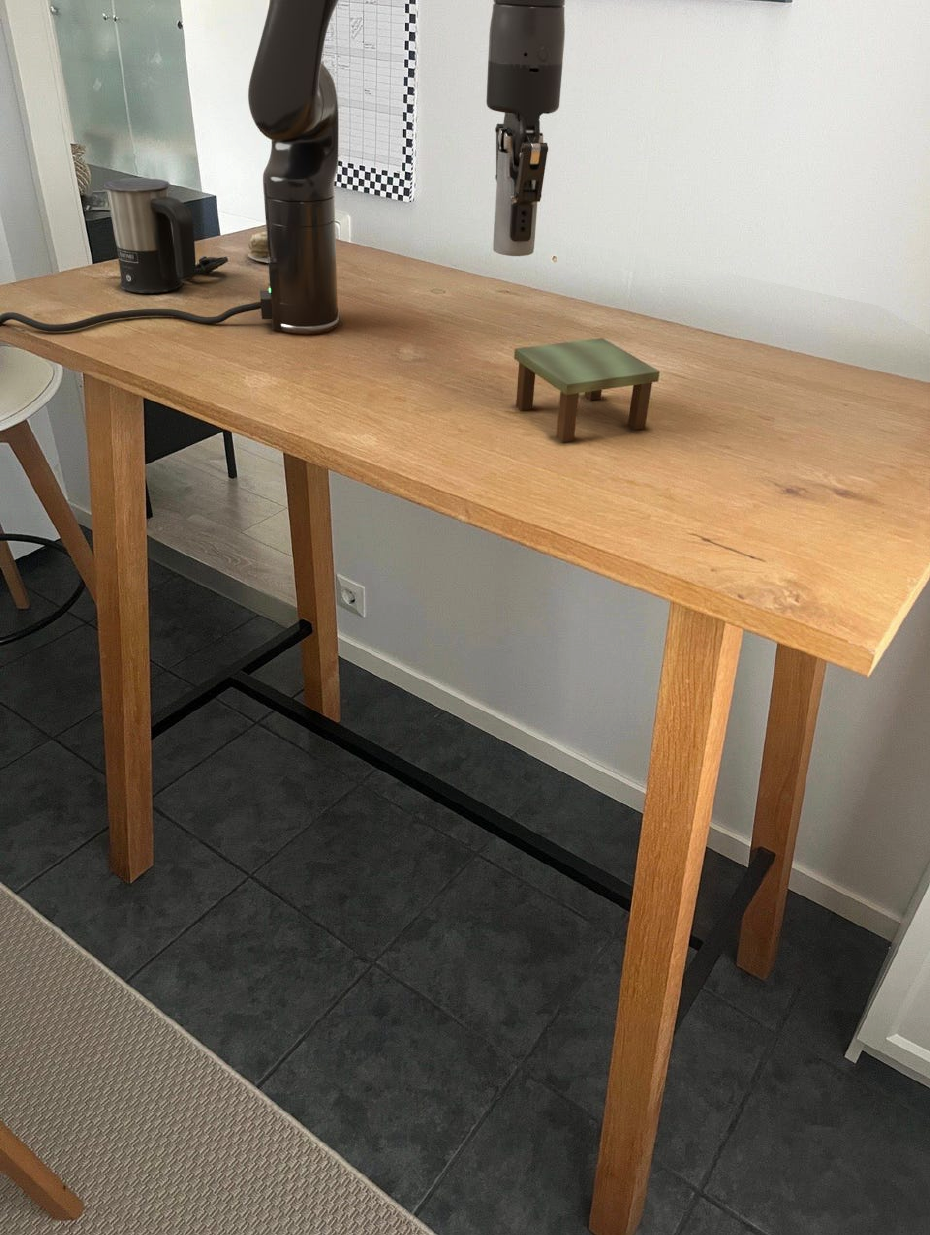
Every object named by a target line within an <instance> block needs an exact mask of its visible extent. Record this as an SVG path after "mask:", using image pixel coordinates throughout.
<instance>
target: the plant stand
mask: <svg viewBox="0 0 930 1235" xmlns="http://www.w3.org/2000/svg"><path fill="white" fill-rule="evenodd" d="M513 358H514V360H516V361H517V362H518V373H517V386H516V387H517V388H516V401H515V407H516V409H519V411H521V412H524V411H531V410H533V405H534V394H535V381H536V375H537V376H538V377H540V378H541V379H542V380H544V381H545V382H547V383H548V384H550V385H551V386H553V387H554V388H555V389H557V390H558V391H559V392H560V393H559V401H558V402H559V403H558V412H557V421H556V432H555V438H556V440H558V441H559V442H561V443H569V442H574V441H575V434H576V426H577V425H576V424H577V416H578V406H579V396H580V394H582V393H583V394H584V397H585V398H586V399H588V400H589V401H597V400H601V399H602V393H603V392H602V391H603V390H610V389H616V388H617V389H618V388H623V387H624V388H625V387H631V386H632V391H631V399H630V405H629V411H628V412H629V413H628V419H627V427H629V428H630V429H632V430H633V431H639V430H640V431H641V430H645V429H646V424H647V418H648V412H649V406H650V400H651V393H652V386H653V383H657V382H659V380H660V379H659V378H660V373H661V371H660V370H658V369H657V368H655V367H653V366H652V365H650V364H648V363H646V362H645V361H643V360H641V359H639V358H638V357H636V356H634V355H633V354H631V353H629V352H627V351H626V350H624V349H623V348H621V347H619V346H617V345H615V343H612V342H610V341H609V340H607V339H605V338H604V337H599V338H598V337H597V338H589V339H583V340H573V341H567V342H565V341H564V342H557V343H549V344H541V345H533V346H526V347H517V348H514V355H513Z"/></svg>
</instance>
